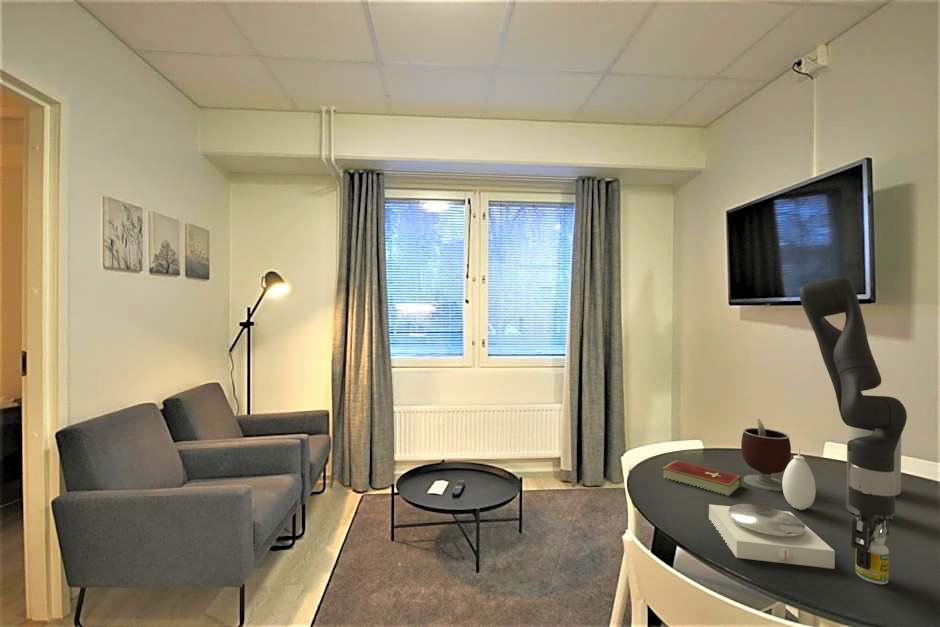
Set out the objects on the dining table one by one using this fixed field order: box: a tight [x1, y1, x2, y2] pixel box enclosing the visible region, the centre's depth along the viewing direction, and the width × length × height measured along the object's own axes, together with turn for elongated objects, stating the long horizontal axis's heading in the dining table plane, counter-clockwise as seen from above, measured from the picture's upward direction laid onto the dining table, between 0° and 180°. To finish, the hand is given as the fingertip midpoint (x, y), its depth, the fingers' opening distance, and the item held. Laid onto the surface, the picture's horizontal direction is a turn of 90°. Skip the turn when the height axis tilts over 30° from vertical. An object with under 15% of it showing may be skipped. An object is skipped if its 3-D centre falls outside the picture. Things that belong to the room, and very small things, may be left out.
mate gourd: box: [740, 418, 792, 492], centre depth 150 cm, size 16×14×20 cm
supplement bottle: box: [855, 533, 890, 585], centre depth 96 cm, size 5×5×10 cm
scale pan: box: [729, 503, 806, 537], centre depth 111 cm, size 16×16×1 cm
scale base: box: [708, 503, 836, 570], centre depth 111 cm, size 20×20×4 cm
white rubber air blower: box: [781, 447, 817, 511], centre depth 130 cm, size 8×8×18 cm
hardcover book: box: [661, 460, 742, 497], centre depth 150 cm, size 12×21×4 cm, turn 44°
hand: (870, 561), depth 96 cm, fingers open, 8 cm apart
